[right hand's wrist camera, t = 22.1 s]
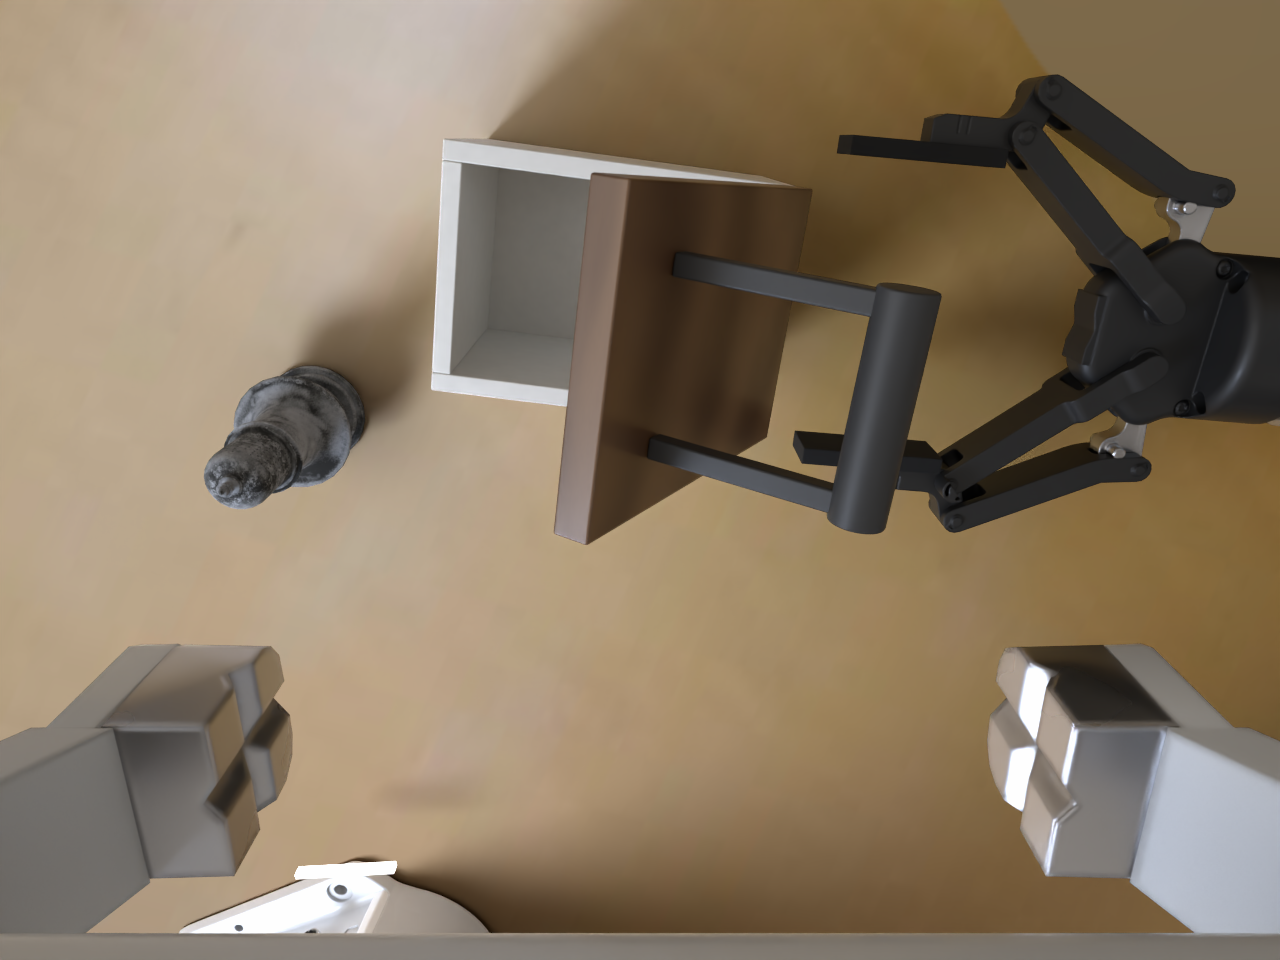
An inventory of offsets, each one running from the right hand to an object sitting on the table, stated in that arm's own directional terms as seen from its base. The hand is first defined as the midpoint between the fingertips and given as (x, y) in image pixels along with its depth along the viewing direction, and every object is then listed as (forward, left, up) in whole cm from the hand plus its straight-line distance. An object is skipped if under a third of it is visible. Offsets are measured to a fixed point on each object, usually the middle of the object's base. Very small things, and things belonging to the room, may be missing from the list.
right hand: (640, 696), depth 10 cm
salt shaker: (-19, -3, -39) cm, 43 cm away
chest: (-1, 0, -39) cm, 39 cm away
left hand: (+8, -3, -32) cm, 33 cm away
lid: (+1, -1, -21) cm, 22 cm away
